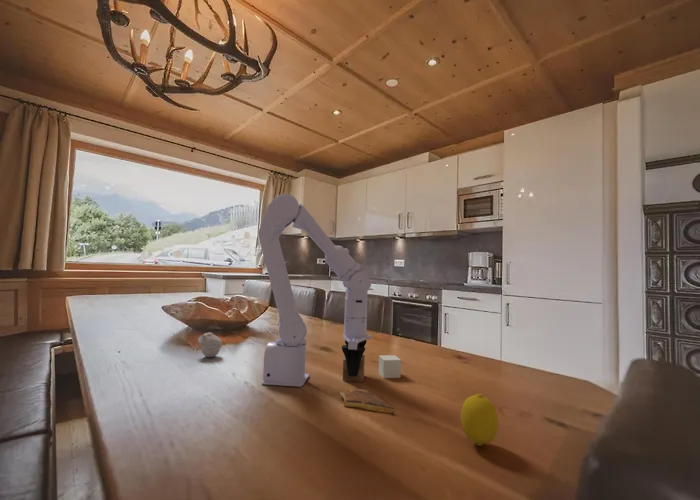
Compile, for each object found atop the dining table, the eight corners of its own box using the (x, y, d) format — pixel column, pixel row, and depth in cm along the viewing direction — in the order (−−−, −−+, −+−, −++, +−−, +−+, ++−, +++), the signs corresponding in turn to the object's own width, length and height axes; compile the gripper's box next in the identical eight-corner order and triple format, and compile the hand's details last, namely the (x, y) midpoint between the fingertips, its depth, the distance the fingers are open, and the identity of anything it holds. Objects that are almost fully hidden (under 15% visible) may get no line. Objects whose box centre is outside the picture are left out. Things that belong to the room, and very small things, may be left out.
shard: (394, 416, 62) (394, 406, 62) (358, 423, 58) (358, 413, 58) (367, 395, 71) (367, 387, 72) (335, 400, 68) (335, 391, 68)
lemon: (454, 436, 54) (455, 387, 54) (486, 436, 54) (487, 387, 55) (469, 455, 48) (470, 401, 49) (505, 455, 49) (505, 401, 49)
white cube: (383, 378, 82) (383, 360, 82) (378, 372, 86) (379, 355, 86) (400, 378, 83) (400, 360, 83) (394, 372, 87) (395, 355, 87)
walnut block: (342, 380, 79) (343, 359, 79) (344, 373, 84) (345, 354, 84) (363, 381, 78) (363, 360, 79) (364, 375, 83) (364, 355, 84)
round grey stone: (204, 353, 98) (205, 330, 99) (226, 355, 97) (227, 331, 98) (192, 358, 92) (193, 334, 93) (215, 360, 91) (216, 335, 92)
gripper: (370, 322, 74) (369, 383, 74) (372, 313, 89) (370, 364, 88) (340, 321, 75) (338, 381, 74) (346, 312, 90) (344, 362, 89)
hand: (353, 371), depth 81 cm, fingers closed on walnut block, 5 cm apart
